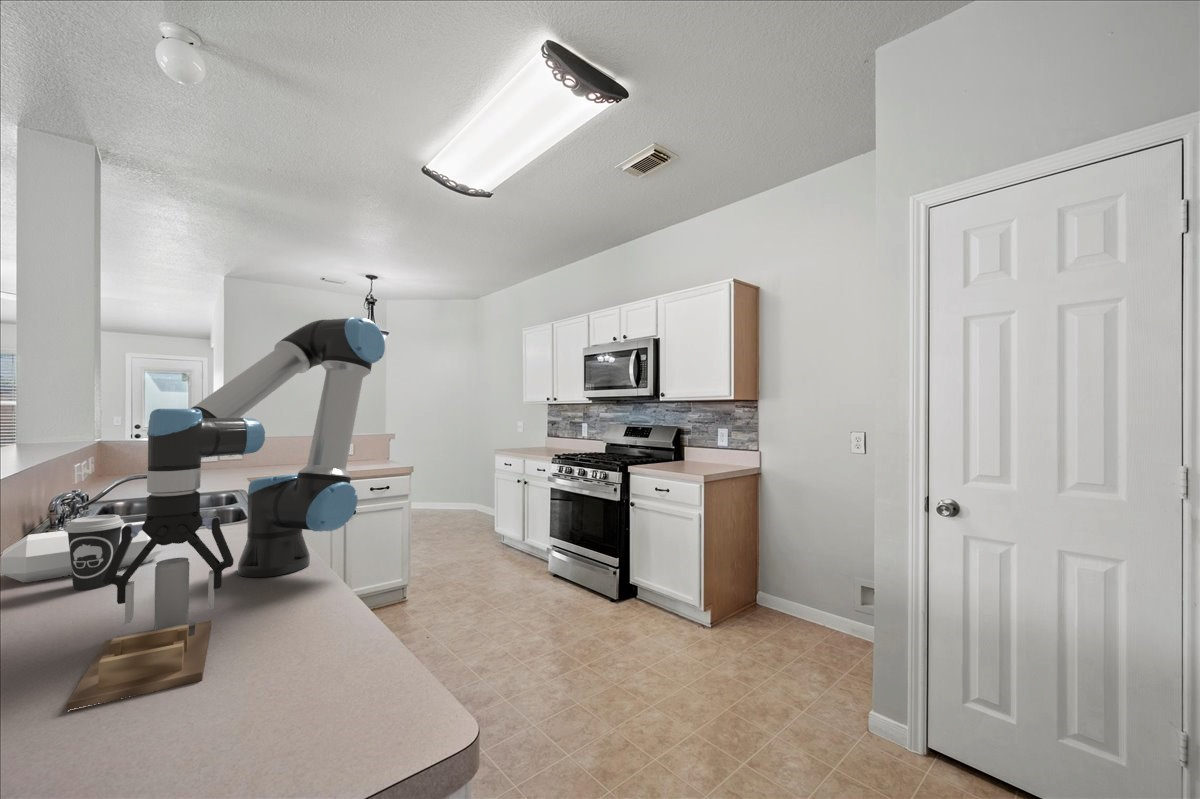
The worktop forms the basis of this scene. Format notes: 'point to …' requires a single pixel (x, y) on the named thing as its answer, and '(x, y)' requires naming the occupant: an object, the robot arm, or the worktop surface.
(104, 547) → the coffee cup
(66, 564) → the crystal
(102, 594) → the worktop surface
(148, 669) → the board
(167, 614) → the beverage can
